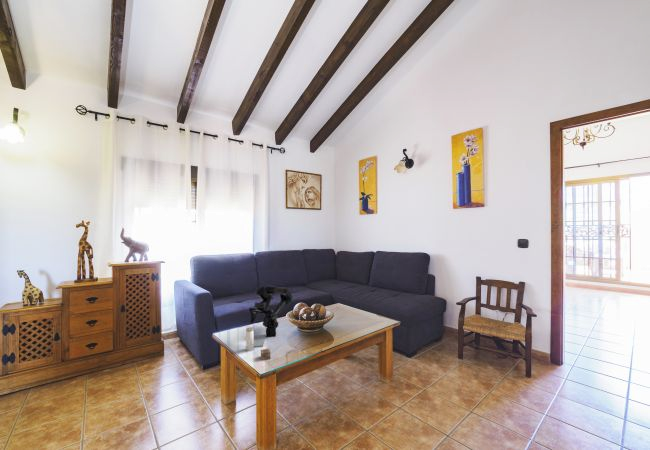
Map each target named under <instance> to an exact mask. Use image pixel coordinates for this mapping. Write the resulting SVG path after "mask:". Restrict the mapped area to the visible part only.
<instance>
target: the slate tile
mask: <svg viewBox="0 0 650 450" xmlns="http://www.w3.org/2000/svg"><path fill="white" fill-rule="evenodd" d="M265 342H266V339H265V338H264V339H263V338H261V339H254V348H262V347H264V345H265Z"/></svg>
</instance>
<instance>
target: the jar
mask: <svg viewBox="0 0 650 450" xmlns="http://www.w3.org/2000/svg"><path fill="white" fill-rule="evenodd" d="M254 331H255V329H254V327H247V328H246V330H245V332H246V337H245V339H246V343H245V344H246V352H252V351H254V349H255V347H254V340H255V337H254Z"/></svg>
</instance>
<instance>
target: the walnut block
mask: <svg viewBox="0 0 650 450" xmlns="http://www.w3.org/2000/svg"><path fill="white" fill-rule="evenodd" d="M260 359H261V361H266V360H271V349H270V348H265V349H260Z"/></svg>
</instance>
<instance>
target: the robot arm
mask: <svg viewBox="0 0 650 450" xmlns="http://www.w3.org/2000/svg"><path fill="white" fill-rule="evenodd" d="M276 294H280V295H279V297H280V301H279V302H278V304H277V305H276V307H275V308H274V309H269V308H270V307H271V306H270V304H271V302H272V300H274V296H273V295H276ZM256 295H257V296H258V297H259V298H260V299H261V301H259V302H254V307H252V306H250V307H249V308H248V310H247V311H248V313H249V314H250V324H251V325H252V324H253V322H255V319H256V317H257V314H261V315H265V316H264V317H263V322H262V326H264V327H265V335H266V338H273V337H276V336H277V328H278V327H279V322H278V320H277V319H278V316H279V315H280V314H281V312H282V311H283V310H284V309H285V307H286V306H287V305H289V304H291V302H292V301H293V299H294V298H293V295H292V293H291V291H290V290H289V289H288V287H277V286H275V285H266V287H265V286H261V287H260V288H259V289H257V291H256Z"/></svg>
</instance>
